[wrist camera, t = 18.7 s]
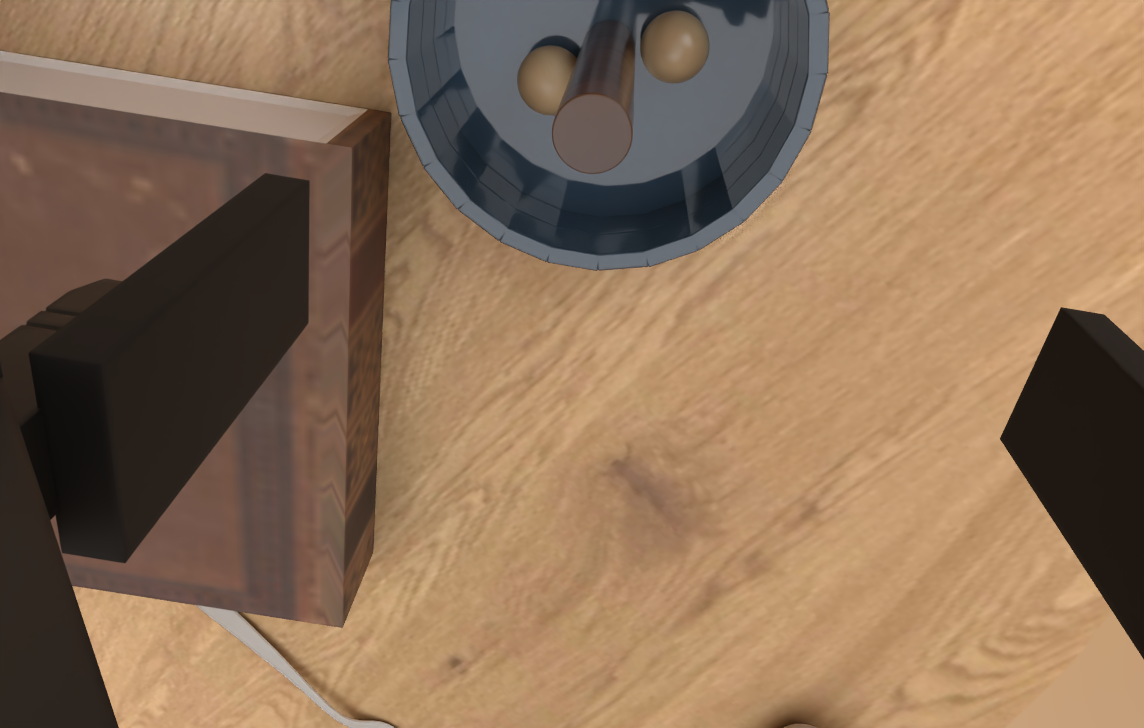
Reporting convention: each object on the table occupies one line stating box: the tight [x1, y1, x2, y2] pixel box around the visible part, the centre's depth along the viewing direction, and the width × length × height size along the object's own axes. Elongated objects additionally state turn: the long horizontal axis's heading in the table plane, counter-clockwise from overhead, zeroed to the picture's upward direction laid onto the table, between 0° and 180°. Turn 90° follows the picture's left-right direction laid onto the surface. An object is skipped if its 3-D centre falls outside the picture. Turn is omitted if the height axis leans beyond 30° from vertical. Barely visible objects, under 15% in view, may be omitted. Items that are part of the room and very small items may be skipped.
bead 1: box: [517, 45, 577, 116], centre depth 39 cm, size 3×3×3 cm
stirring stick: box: [552, 20, 636, 174], centre depth 33 cm, size 2×2×16 cm
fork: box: [196, 605, 394, 728], centre depth 62 cm, size 3×24×2 cm, turn 40°
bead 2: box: [640, 11, 710, 84], centre depth 38 cm, size 3×3×3 cm
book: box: [0, 51, 391, 628], centre depth 47 cm, size 24×28×6 cm
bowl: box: [388, 0, 830, 271], centre depth 38 cm, size 18×18×6 cm
